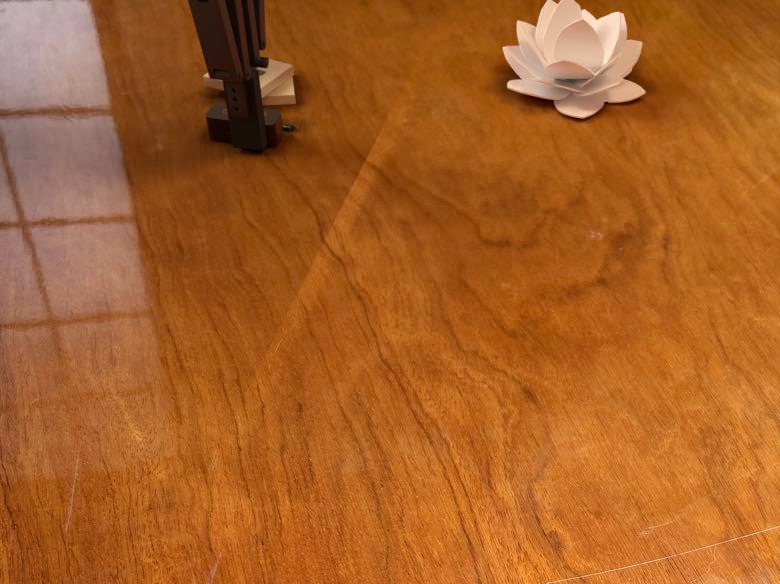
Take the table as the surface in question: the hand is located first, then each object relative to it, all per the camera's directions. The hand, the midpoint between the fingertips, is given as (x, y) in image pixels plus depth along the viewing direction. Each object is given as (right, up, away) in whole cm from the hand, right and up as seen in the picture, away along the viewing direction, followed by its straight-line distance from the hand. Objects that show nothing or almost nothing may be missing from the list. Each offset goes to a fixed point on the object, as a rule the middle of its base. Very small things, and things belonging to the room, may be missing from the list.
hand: (250, 144), depth 102 cm
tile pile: (-2, +7, +9) cm, 11 cm away
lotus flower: (+29, +11, +14) cm, 34 cm away
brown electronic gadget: (0, +1, +3) cm, 3 cm away
